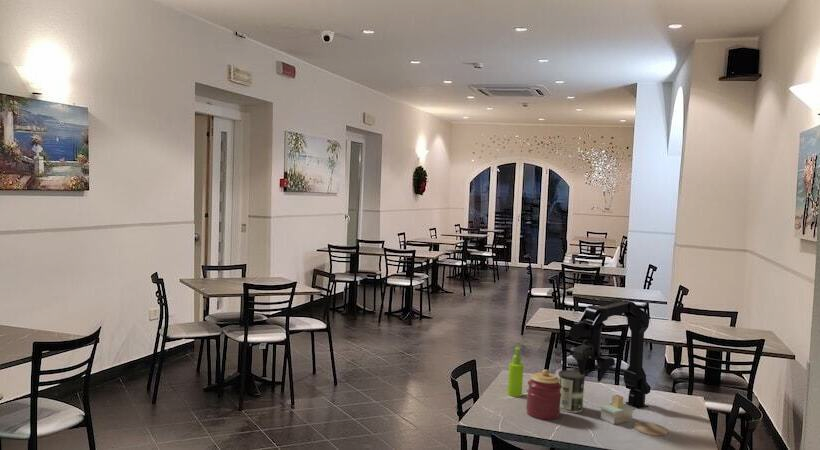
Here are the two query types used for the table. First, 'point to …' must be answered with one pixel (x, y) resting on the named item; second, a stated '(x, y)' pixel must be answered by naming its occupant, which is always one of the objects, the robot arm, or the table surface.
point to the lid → (617, 405)
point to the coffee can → (571, 391)
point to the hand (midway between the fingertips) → (590, 377)
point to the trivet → (650, 428)
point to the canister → (544, 395)
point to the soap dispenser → (515, 375)
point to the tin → (616, 417)
